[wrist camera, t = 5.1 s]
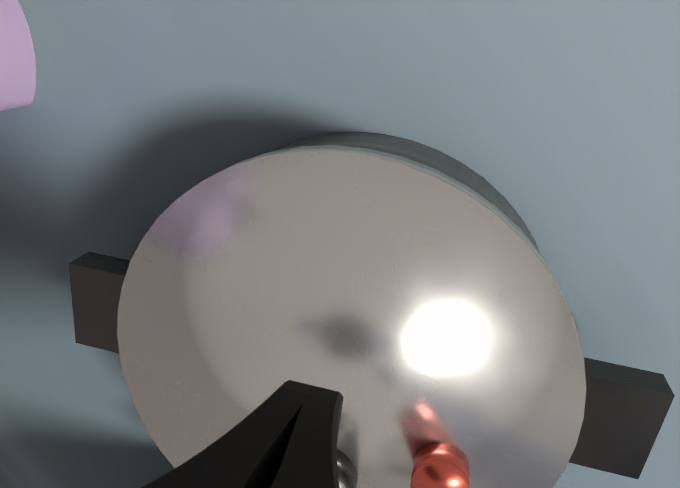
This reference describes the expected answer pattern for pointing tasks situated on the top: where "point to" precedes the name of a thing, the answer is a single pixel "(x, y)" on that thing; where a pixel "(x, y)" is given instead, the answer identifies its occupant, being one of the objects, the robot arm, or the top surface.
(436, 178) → the cooker lid
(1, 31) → the pink rounded block
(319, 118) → the top surface
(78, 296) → the cooker pot
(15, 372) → the top surface
